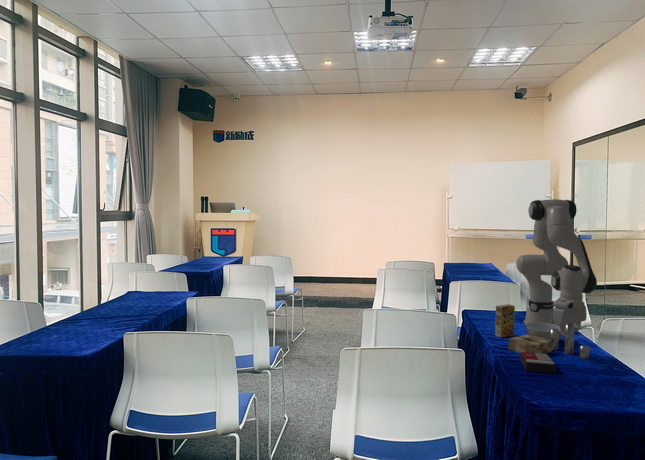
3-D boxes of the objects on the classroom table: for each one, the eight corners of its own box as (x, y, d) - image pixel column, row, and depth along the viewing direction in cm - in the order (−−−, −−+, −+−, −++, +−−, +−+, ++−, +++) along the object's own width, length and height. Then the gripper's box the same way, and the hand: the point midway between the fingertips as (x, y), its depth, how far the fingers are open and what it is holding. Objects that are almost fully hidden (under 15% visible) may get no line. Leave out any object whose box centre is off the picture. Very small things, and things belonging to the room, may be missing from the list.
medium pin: (552, 347, 215) (553, 328, 215) (559, 349, 212) (560, 329, 212) (547, 348, 214) (548, 329, 213) (555, 350, 210) (556, 331, 210)
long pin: (567, 351, 209) (568, 320, 209) (574, 353, 206) (576, 322, 206) (562, 352, 208) (563, 321, 207) (570, 354, 205) (571, 323, 204)
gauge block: (527, 344, 219) (527, 334, 219) (551, 351, 209) (551, 340, 208) (508, 349, 212) (508, 338, 211) (532, 357, 201) (532, 345, 201)
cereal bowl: (528, 333, 237) (529, 320, 237) (565, 339, 228) (565, 325, 228) (522, 342, 223) (523, 327, 223) (561, 348, 214) (562, 333, 214)
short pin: (582, 355, 204) (583, 344, 203) (590, 358, 200) (591, 347, 200) (577, 357, 202) (578, 346, 201) (586, 359, 199) (586, 348, 198)
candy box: (500, 337, 230) (501, 307, 229) (494, 335, 233) (495, 305, 232) (514, 335, 233) (515, 305, 232) (507, 333, 237) (509, 304, 236)
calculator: (547, 353, 197) (556, 363, 182) (547, 363, 197) (556, 374, 182) (519, 350, 199) (526, 360, 185) (519, 360, 199) (526, 371, 185)
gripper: (577, 298, 214) (576, 328, 214) (550, 303, 203) (549, 334, 204) (591, 301, 208) (589, 331, 209) (564, 305, 197) (563, 337, 198)
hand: (569, 333), depth 206 cm, fingers open, 8 cm apart
